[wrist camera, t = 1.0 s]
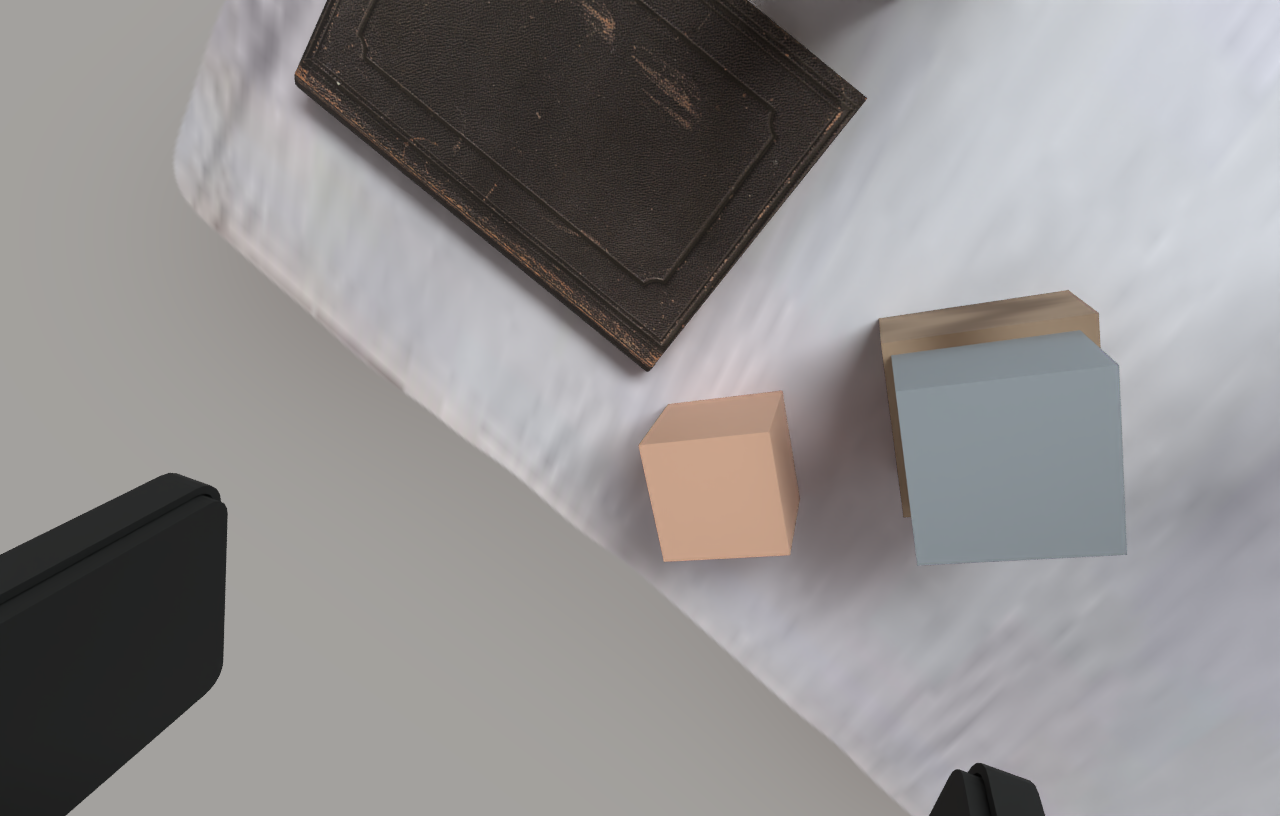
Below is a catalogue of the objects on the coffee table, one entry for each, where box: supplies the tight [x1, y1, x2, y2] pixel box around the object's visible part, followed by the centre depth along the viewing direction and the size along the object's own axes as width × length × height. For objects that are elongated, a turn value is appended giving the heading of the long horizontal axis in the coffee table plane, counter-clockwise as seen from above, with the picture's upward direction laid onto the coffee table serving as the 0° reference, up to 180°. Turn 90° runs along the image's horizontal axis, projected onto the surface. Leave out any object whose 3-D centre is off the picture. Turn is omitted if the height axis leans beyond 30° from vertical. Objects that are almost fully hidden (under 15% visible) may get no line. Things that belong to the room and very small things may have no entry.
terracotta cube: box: [638, 391, 800, 562], centre depth 38 cm, size 6×6×6 cm
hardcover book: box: [295, 0, 867, 372], centre depth 36 cm, size 16×23×2 cm
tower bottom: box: [879, 290, 1100, 517], centre depth 34 cm, size 8×8×5 cm
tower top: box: [891, 330, 1127, 565], centre depth 30 cm, size 7×7×5 cm
